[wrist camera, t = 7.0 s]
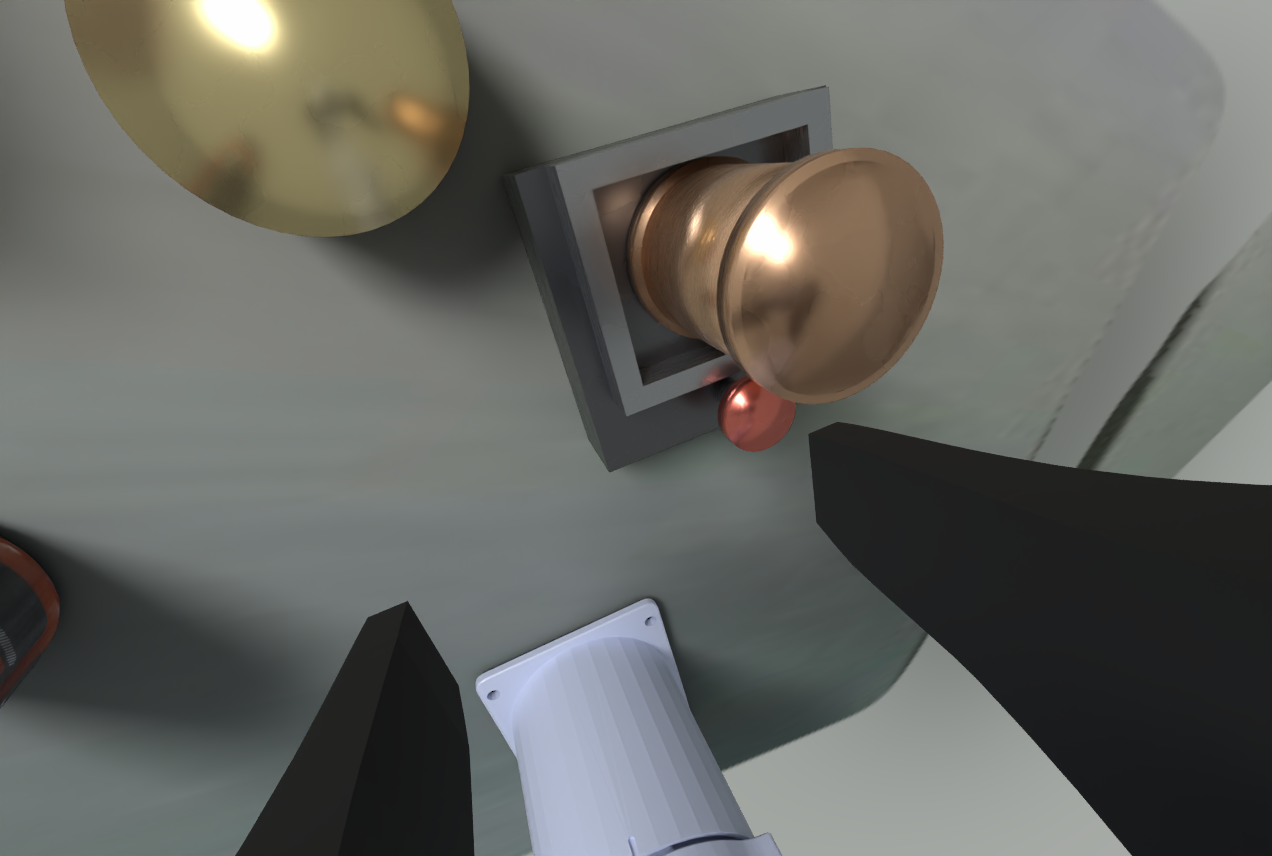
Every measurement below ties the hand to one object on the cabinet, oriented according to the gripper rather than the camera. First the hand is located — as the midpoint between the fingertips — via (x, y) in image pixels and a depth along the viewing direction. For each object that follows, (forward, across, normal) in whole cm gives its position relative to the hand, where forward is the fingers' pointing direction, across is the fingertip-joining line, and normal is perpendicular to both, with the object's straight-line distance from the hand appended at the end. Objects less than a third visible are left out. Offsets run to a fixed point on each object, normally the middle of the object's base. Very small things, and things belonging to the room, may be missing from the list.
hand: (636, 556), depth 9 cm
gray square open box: (+10, -6, -1) cm, 12 cm away
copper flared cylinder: (+8, -6, -3) cm, 10 cm away
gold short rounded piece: (+10, +2, -9) cm, 14 cm away
